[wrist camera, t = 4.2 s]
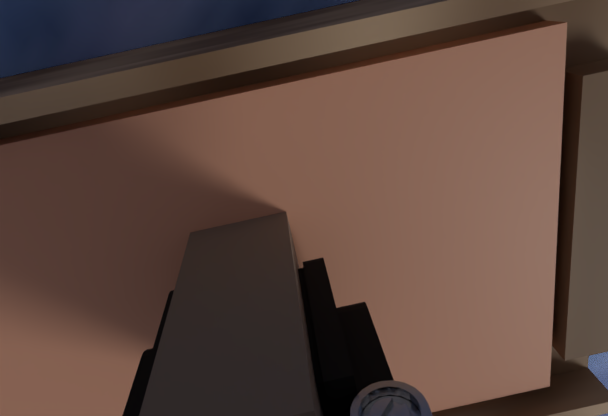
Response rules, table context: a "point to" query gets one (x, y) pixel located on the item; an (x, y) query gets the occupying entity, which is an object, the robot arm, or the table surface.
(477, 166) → the brown piece
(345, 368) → the robot arm
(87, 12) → the table surface
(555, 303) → the box
